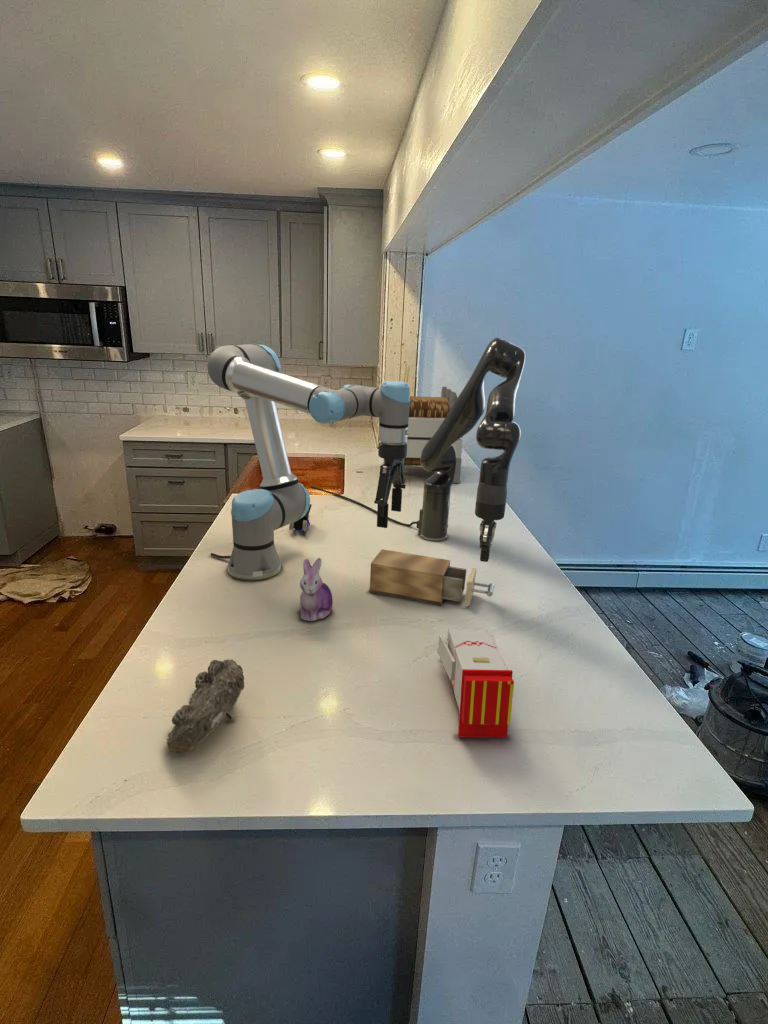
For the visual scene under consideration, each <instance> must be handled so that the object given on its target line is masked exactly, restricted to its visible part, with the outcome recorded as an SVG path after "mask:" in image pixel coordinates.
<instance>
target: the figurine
mask: <svg viewBox="0 0 768 1024" xmlns="http://www.w3.org/2000/svg"><path fill="white" fill-rule="evenodd" d="M302 566H303V567H302V568H303V575H302V576H301V579H300V582H299V586H300V587H299V588H300V589H301V591H302V592H301V594H300V596H299V604H300V619H302V620H304V621H307V622H308V621H309V622H315V621H317V620H322V619H324V618H327V616H329V615H330V614H331V613H332V611H333V610H332V609H333V594H332V591H331V588H330V587H329V585H328V584H326V583H325V582H323V579H322V577H321V576H320V570H321V566H322V558H321V557H318V558H317V559H316V560H315V561H314V563H313V564H312V565H311V563H310V561H309V559H308V558H305V559H304V560H303V565H302Z"/></svg>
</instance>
